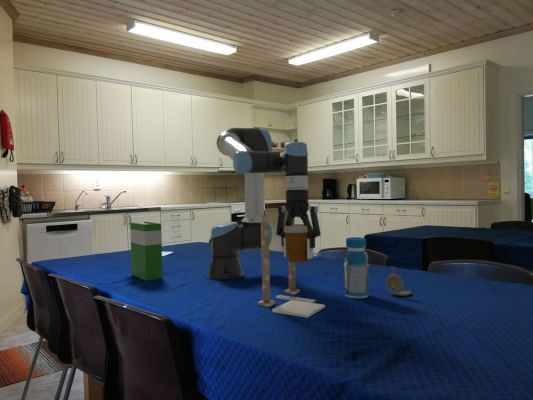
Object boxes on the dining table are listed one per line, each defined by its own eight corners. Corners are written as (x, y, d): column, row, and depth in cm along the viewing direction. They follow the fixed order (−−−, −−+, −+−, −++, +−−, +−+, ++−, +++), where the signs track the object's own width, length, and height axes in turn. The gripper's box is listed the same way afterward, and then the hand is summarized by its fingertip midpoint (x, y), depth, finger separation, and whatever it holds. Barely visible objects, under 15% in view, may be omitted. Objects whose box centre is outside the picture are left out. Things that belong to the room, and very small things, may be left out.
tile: (272, 311, 126) (272, 309, 126) (291, 302, 136) (291, 300, 136) (307, 317, 119) (307, 314, 119) (324, 307, 129) (324, 304, 129)
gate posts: (258, 305, 133) (255, 215, 133) (290, 290, 152) (288, 212, 151) (268, 306, 131) (266, 216, 131) (299, 292, 150) (298, 212, 149)
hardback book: (131, 274, 189) (130, 222, 188) (147, 272, 193) (145, 221, 193) (146, 280, 175) (144, 224, 174) (162, 278, 179) (161, 223, 179)
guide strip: (273, 299, 139) (273, 297, 139) (279, 297, 143) (279, 294, 143) (310, 305, 132) (310, 302, 132) (315, 302, 135) (315, 299, 135)
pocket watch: (410, 292, 145) (410, 264, 145) (410, 298, 138) (410, 268, 137) (386, 291, 148) (386, 263, 148) (385, 297, 140) (384, 267, 140)
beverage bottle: (355, 300, 137) (354, 240, 136) (339, 294, 144) (338, 238, 144) (374, 296, 141) (373, 238, 140) (358, 291, 148) (357, 236, 148)
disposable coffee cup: (311, 263, 131) (310, 226, 131) (281, 263, 133) (280, 226, 133) (314, 259, 141) (313, 224, 140) (286, 258, 143) (285, 224, 142)
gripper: (264, 189, 139) (265, 257, 139) (320, 188, 128) (322, 261, 128) (275, 189, 145) (277, 254, 146) (330, 188, 134) (332, 257, 134)
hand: (298, 257), depth 137 cm, fingers closed on disposable coffee cup, 8 cm apart
